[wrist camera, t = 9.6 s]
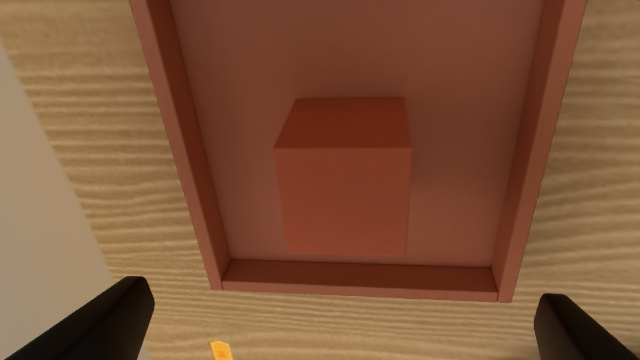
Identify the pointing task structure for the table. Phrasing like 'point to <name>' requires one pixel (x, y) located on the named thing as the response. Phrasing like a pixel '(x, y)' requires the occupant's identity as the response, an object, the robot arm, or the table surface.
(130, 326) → the robot arm
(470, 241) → the terracotta tray
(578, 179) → the table surface
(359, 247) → the terracotta block
